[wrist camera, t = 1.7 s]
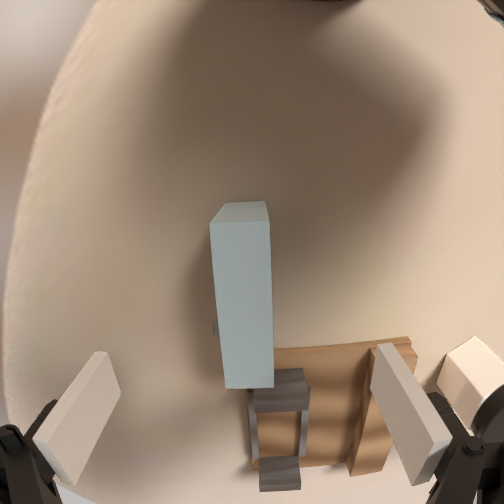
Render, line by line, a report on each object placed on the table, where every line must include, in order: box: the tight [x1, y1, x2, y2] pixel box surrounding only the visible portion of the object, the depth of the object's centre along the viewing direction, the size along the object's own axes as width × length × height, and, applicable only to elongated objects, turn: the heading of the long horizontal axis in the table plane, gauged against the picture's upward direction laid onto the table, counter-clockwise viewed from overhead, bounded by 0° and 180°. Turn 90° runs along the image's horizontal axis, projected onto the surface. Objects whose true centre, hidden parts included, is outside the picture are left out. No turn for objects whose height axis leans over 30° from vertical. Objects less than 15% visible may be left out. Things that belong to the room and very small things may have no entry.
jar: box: [436, 336, 504, 443], centre depth 27 cm, size 9×8×12 cm
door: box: [209, 201, 274, 389], centre depth 25 cm, size 12×4×10 cm, turn 3°
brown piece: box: [246, 337, 418, 492], centre depth 32 cm, size 20×18×6 cm
